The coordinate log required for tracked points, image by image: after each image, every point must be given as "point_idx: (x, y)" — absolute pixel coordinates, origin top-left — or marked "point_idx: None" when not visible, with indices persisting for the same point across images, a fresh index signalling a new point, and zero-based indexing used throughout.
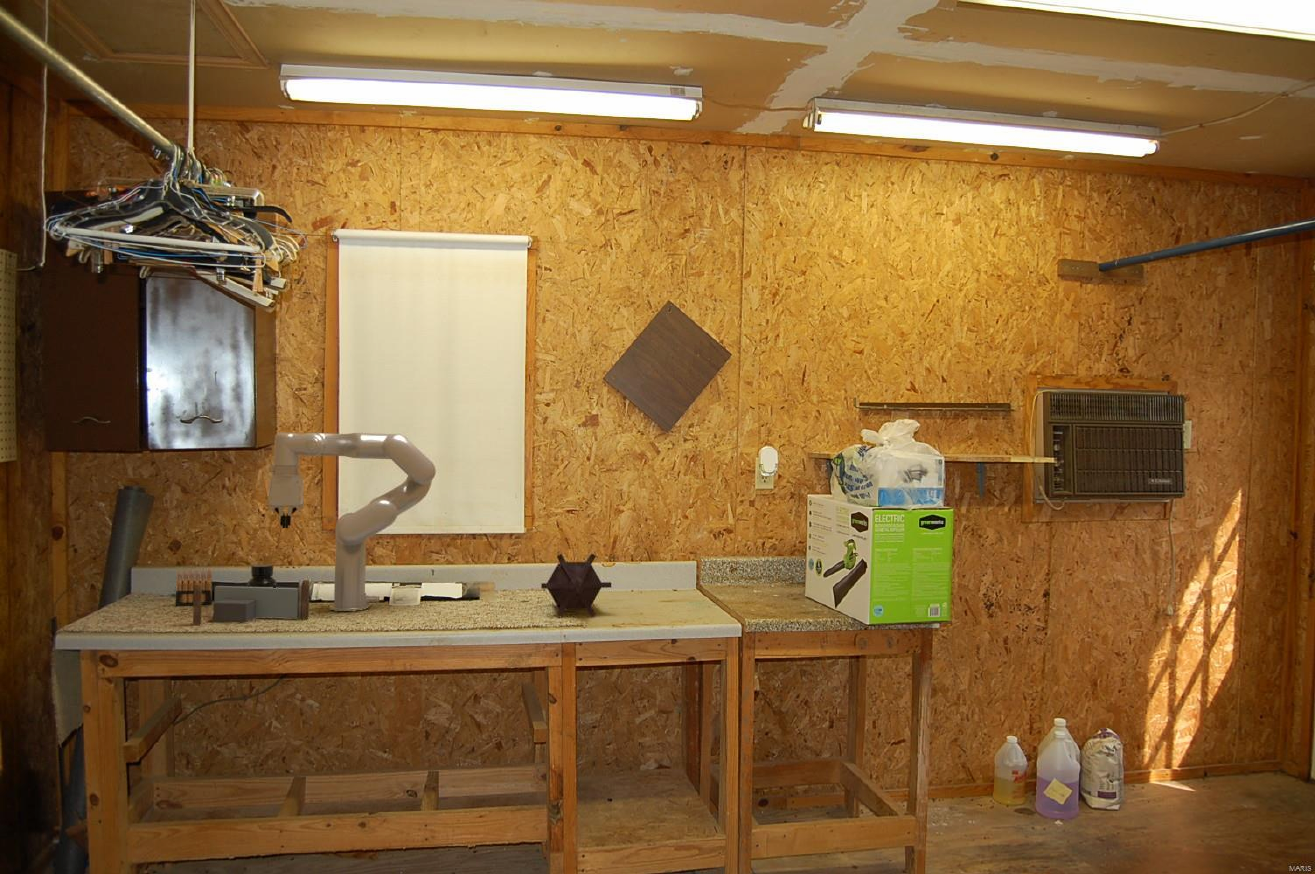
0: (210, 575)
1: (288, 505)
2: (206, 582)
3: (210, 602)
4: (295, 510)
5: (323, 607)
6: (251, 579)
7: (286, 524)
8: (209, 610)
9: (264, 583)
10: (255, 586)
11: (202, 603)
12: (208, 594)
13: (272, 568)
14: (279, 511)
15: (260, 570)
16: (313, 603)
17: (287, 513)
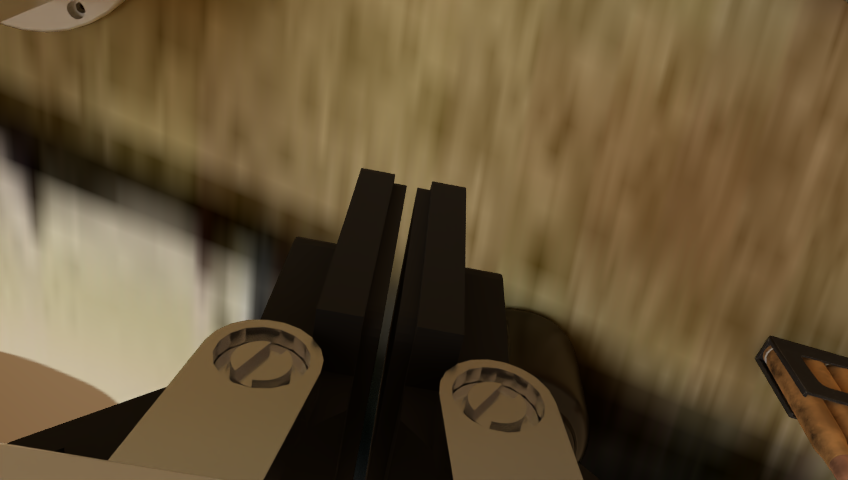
0: (843, 467)
1: (206, 477)
2: (844, 439)
3: (778, 345)
4: (32, 445)
5: (193, 9)
6: (574, 442)
7: (381, 198)
8: (821, 207)
9: None
10: (557, 373)
11: (813, 353)
12: (805, 378)
13: None
14: (566, 472)
15: None
16: (247, 163)
17: (315, 421)
